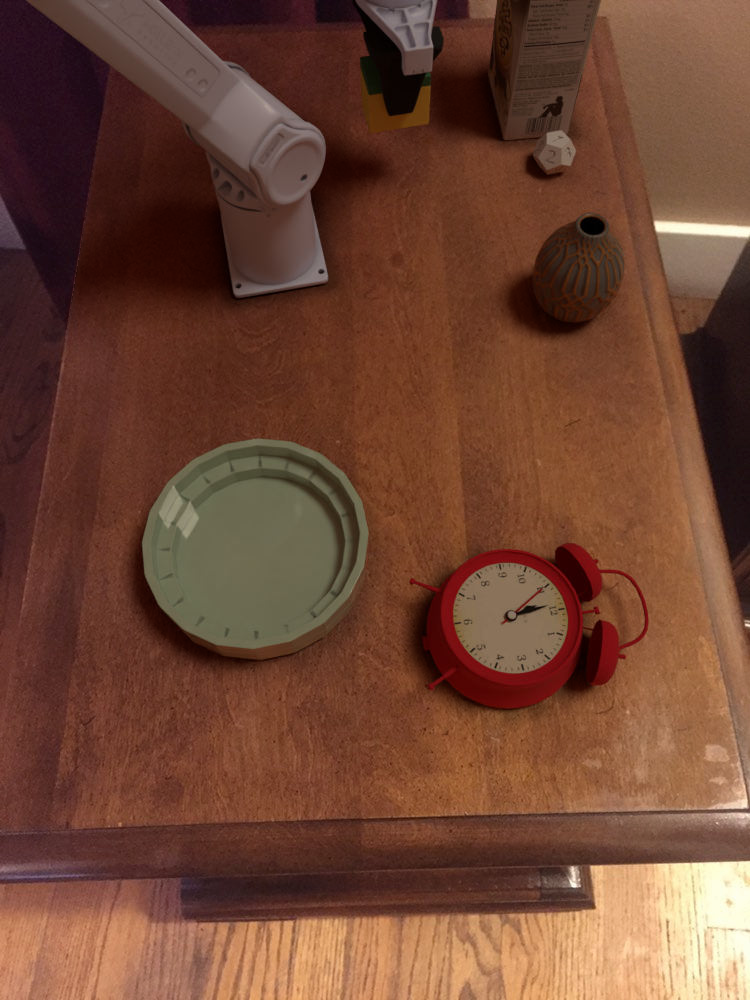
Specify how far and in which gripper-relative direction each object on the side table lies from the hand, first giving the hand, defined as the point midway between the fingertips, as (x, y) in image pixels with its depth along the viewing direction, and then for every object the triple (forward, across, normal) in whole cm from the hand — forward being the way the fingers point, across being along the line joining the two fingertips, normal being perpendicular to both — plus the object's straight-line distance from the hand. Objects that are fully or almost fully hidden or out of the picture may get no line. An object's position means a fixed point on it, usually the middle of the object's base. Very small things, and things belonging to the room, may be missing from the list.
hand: (394, 95), depth 66 cm
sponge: (+2, 0, 0) cm, 2 cm away
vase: (+8, -17, -11) cm, 22 cm away
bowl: (+8, -34, +17) cm, 39 cm away
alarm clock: (+8, -43, 0) cm, 44 cm away
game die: (+8, -2, -14) cm, 17 cm away
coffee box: (+8, +6, -14) cm, 17 cm away
